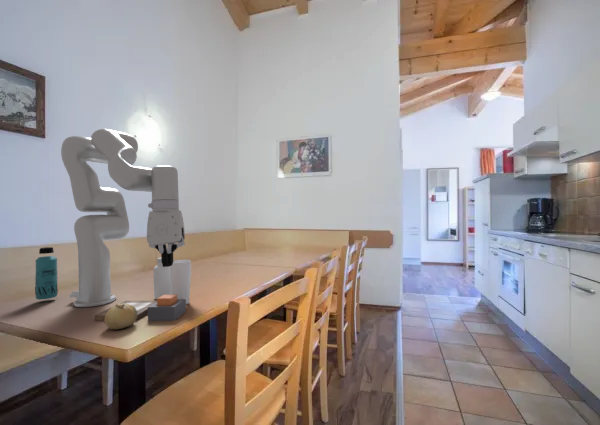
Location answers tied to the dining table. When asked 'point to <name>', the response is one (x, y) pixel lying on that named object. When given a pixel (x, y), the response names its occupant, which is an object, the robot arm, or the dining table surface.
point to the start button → (166, 300)
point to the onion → (120, 316)
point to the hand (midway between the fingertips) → (167, 266)
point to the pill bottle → (162, 280)
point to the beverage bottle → (46, 275)
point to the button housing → (167, 311)
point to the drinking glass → (181, 279)
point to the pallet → (139, 305)
